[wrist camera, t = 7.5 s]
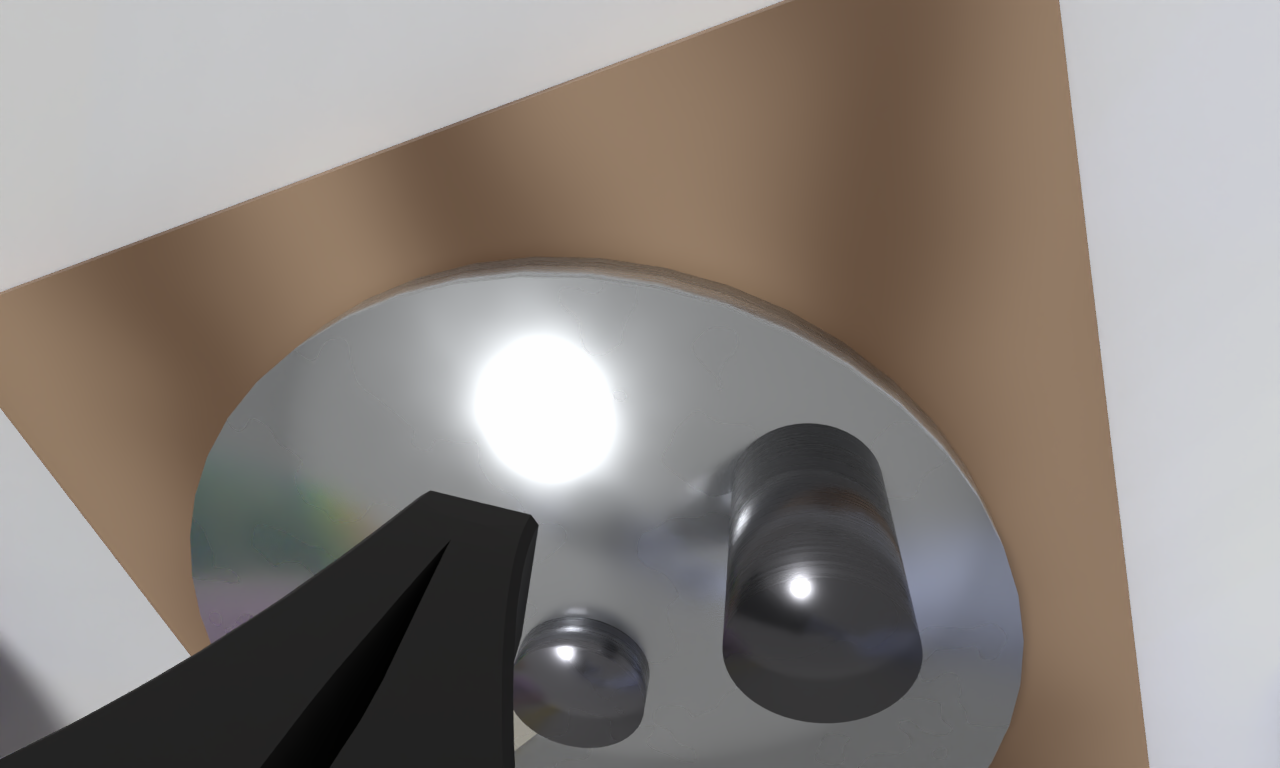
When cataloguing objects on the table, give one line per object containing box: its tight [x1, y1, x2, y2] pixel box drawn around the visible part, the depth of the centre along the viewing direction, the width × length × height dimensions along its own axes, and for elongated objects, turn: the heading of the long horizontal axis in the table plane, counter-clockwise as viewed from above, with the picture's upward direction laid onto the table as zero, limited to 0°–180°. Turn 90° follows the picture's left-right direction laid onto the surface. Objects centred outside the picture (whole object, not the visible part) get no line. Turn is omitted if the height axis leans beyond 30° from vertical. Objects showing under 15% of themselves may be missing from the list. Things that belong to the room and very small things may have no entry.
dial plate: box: [0, 0, 1149, 768], centre depth 16 cm, size 20×20×4 cm
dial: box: [190, 257, 1024, 768], centre depth 14 cm, size 16×16×5 cm
